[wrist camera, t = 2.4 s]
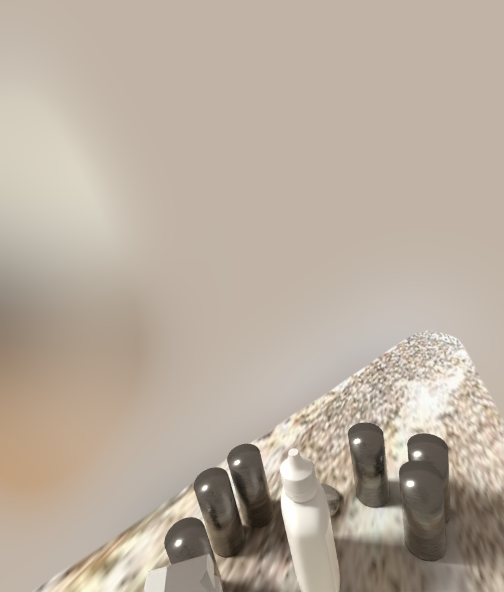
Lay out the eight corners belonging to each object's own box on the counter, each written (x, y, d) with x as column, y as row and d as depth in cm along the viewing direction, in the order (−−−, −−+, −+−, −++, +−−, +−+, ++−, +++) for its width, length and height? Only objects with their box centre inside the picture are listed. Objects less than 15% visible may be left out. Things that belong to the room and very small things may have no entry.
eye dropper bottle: (354, 548, 31) (336, 431, 27) (333, 620, 26) (308, 492, 22) (305, 531, 33) (282, 420, 29) (278, 595, 29) (247, 474, 25)
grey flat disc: (316, 529, 33) (315, 523, 33) (295, 501, 36) (293, 495, 36) (347, 508, 35) (347, 502, 34) (324, 483, 38) (323, 477, 38)
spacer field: (187, 626, 28) (162, 561, 26) (192, 516, 37) (173, 461, 35) (478, 548, 29) (478, 479, 27) (414, 460, 38) (409, 403, 36)
